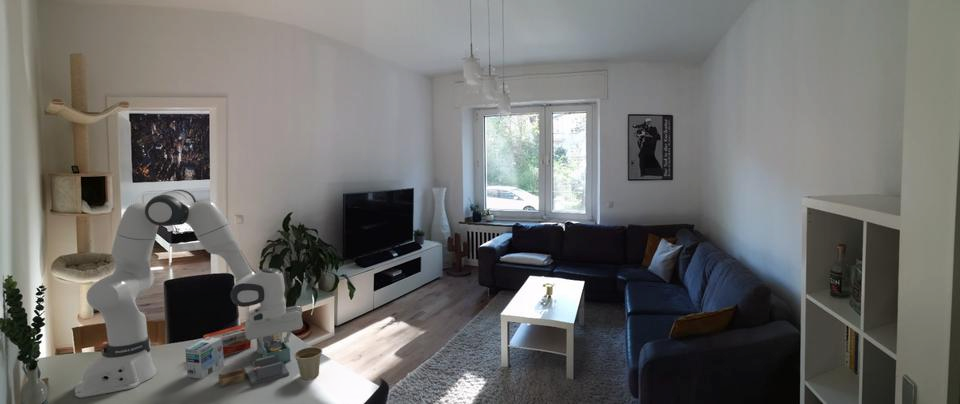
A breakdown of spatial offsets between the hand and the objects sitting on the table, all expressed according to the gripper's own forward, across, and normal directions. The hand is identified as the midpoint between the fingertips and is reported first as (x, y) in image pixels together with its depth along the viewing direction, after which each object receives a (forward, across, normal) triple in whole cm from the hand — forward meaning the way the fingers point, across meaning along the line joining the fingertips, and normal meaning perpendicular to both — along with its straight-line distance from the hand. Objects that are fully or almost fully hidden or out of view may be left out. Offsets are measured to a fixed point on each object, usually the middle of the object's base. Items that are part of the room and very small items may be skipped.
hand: (275, 344), depth 174 cm
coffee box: (+6, 0, -12) cm, 14 cm away
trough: (+6, +16, +8) cm, 19 cm away
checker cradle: (+6, +5, +11) cm, 14 cm away
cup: (+6, 0, 0) cm, 6 cm away
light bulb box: (+6, +23, -6) cm, 25 cm away
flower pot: (+6, -7, +20) cm, 22 cm away
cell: (+6, 0, 0) cm, 6 cm away
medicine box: (+6, +14, -20) cm, 26 cm away
